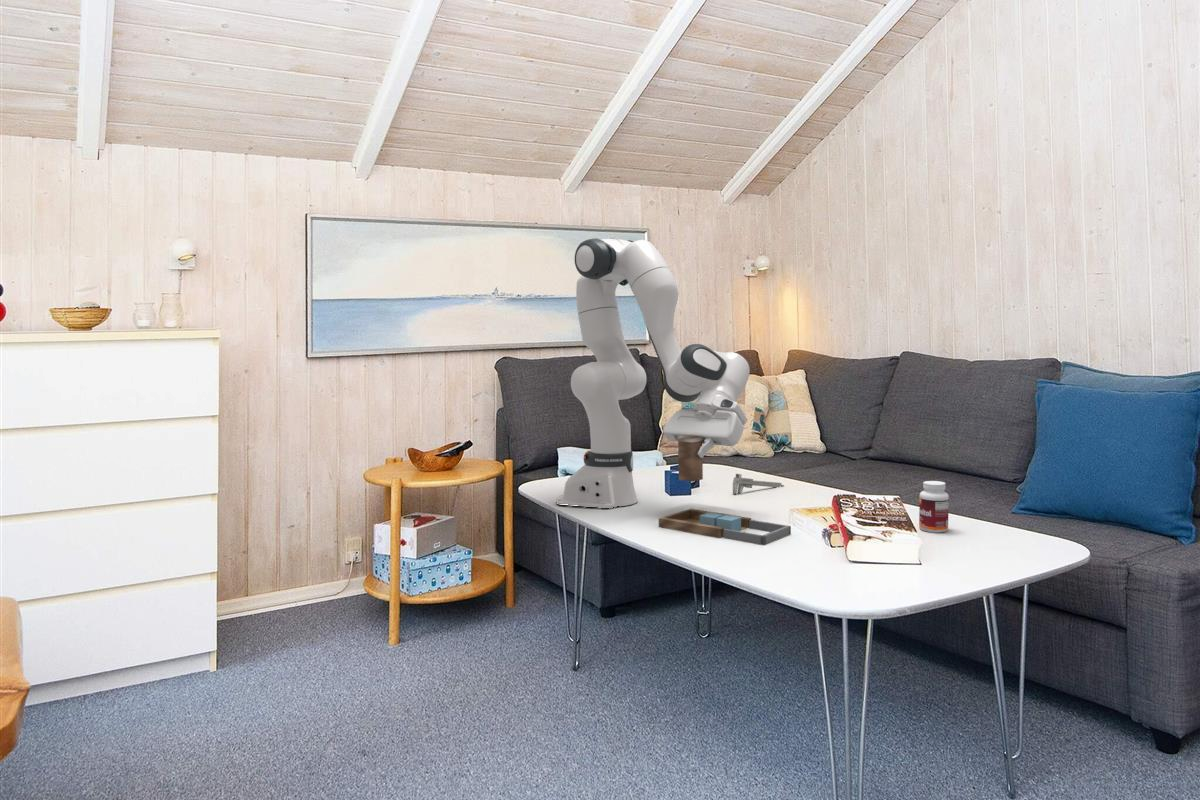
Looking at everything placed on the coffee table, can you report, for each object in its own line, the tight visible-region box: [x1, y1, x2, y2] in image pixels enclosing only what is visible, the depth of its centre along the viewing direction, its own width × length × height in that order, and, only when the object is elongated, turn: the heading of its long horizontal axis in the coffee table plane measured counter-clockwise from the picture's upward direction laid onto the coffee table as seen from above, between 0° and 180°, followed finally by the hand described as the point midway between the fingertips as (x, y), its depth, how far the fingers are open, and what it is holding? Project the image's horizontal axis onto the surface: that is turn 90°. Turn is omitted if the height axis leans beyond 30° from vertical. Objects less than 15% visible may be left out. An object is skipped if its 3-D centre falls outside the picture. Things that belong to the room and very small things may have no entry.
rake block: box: [677, 436, 704, 483], centre depth 186 cm, size 4×4×10 cm
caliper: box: [732, 473, 785, 496], centre depth 231 cm, size 20×1×6 cm, turn 125°
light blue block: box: [716, 514, 742, 532], centre depth 180 cm, size 4×4×3 cm
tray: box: [722, 519, 792, 546], centre depth 175 cm, size 10×12×3 cm
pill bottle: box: [918, 480, 950, 534], centre depth 181 cm, size 6×6×11 cm
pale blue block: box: [700, 511, 724, 526], centre depth 183 cm, size 4×4×3 cm
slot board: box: [658, 508, 752, 539], centre depth 184 cm, size 17×13×3 cm
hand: (688, 455), depth 185 cm, fingers closed on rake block, 4 cm apart
